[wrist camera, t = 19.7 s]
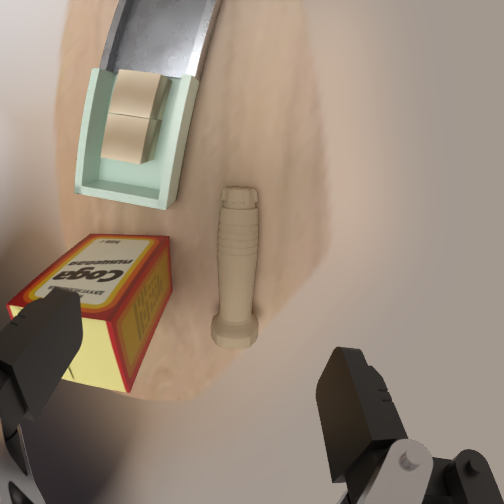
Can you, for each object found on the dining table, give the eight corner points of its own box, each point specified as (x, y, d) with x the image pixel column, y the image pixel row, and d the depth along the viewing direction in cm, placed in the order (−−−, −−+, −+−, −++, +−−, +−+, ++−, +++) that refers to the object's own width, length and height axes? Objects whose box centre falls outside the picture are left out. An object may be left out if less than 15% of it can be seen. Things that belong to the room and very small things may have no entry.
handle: (267, 191, 25) (257, 350, 29) (265, 186, 31) (257, 319, 35) (208, 188, 25) (208, 347, 29) (218, 184, 31) (215, 317, 35)
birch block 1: (135, 75, 25) (119, 69, 21) (172, 80, 26) (160, 74, 22) (125, 113, 27) (108, 112, 23) (162, 119, 27) (149, 118, 23)
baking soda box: (168, 236, 32) (108, 324, 17) (172, 291, 34) (128, 396, 19) (90, 233, 32) (3, 306, 17) (98, 285, 34) (30, 372, 19)
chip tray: (110, 74, 25) (92, 68, 21) (199, 81, 26) (191, 74, 22) (92, 185, 29) (74, 193, 26) (175, 200, 30) (165, 210, 27)
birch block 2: (125, 114, 27) (108, 113, 23) (162, 120, 27) (149, 119, 23) (117, 152, 28) (100, 156, 24) (153, 159, 28) (140, 164, 25)
